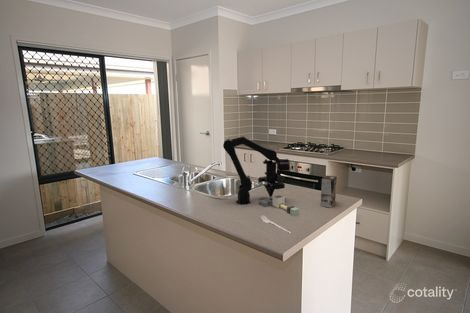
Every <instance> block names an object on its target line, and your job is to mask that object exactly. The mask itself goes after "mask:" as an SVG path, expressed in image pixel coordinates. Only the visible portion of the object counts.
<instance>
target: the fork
mask: <svg viewBox="0 0 470 313" xmlns="http://www.w3.org/2000/svg"><path fill="white" fill-rule="evenodd" d="M260 218H261V220H262V221H263V222H264V223H267V224H272V225H273V226H275V227H277V228H278V229H280V230H283V231H285V232H287V233H289V234H291V231H289V230H287V229H285V228H284V227H283V226H280V225H278V224H276V223H275V222H273V221H272V220H269V218H268V217H266V216H265V215H262V216H260Z"/></svg>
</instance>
